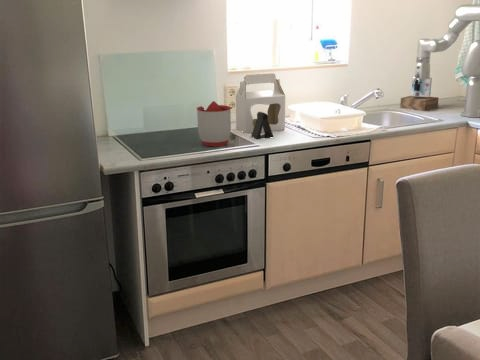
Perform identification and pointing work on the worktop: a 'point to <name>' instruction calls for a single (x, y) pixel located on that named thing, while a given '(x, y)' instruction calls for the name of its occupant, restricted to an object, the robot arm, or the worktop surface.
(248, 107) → the gable box
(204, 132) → the citrus juicer
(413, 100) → the walnut stand
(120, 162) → the worktop surface
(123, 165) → the worktop surface
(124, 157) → the worktop surface
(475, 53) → the robot arm
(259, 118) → the black a-shaped stand
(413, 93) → the light bulb box
